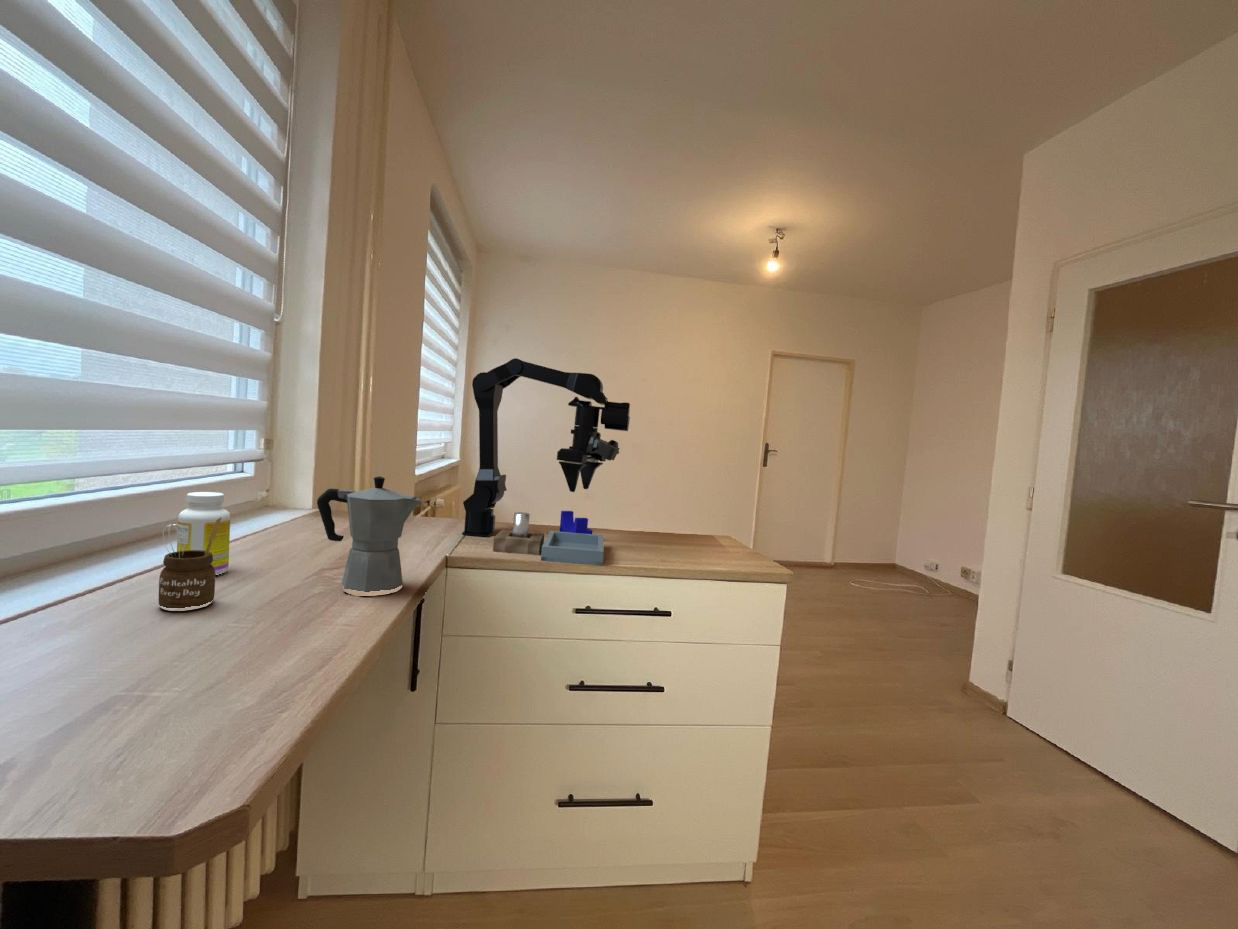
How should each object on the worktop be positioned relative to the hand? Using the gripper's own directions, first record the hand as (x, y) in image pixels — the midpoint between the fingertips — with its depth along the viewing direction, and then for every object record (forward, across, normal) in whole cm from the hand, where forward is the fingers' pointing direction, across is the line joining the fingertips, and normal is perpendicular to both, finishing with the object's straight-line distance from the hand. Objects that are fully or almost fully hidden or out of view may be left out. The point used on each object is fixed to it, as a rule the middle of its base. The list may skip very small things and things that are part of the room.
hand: (579, 490), depth 134 cm
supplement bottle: (+15, -61, +40) cm, 74 cm away
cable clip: (+14, +9, +3) cm, 17 cm away
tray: (+13, -10, -4) cm, 17 cm away
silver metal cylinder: (+14, -13, +8) cm, 20 cm away
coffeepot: (+14, -54, +15) cm, 57 cm away
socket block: (+14, -13, +8) cm, 20 cm away
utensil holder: (+14, -72, +28) cm, 78 cm away
